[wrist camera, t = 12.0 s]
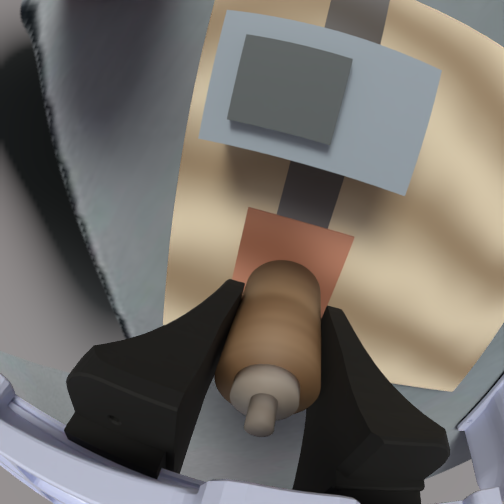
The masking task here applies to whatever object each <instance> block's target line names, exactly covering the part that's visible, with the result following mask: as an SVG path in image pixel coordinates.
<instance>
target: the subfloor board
mask: <svg viewBox="0 0 504 504" xmlns="http://www.w3.org/2000/svg"><path fill="white" fill-rule="evenodd" d="M227 10H234V11H242V12H249V13H256V14H262V15H268V16H274V17H280V18H285V19H290V20H295V21H299V22H304V23H308V24H312V25H316V26H320V27H324V28H328V29H332V30H335V31H339V32H342V33H346V34H349V35H352V36H356V37H359V38H362V39H365V40H368V41H371V42H374V43H377V44H379V45H382V46H385V47H388V48H390V49H393V50H396V51H398V52H401V53H403V54H406V55H408V56H411V57H413V58H415V59H418V60H420V61H422V62H425V63H427V64H429V65H431V66H433V67H436V68H438V69H440V70H442V72H441V76H440V81H439V85H438V89H437V93H436V97H435V101H434V105H433V108H432V112H431V116H430V119H429V123H428V126H427V130H426V133H425V137H424V140H423V143H422V146H421V150H420V153H419V156H418V159H417V162H416V165H415V168H414V171H413V174H412V177H411V180H410V183H409V186H408V189H407V191H406V194H405V196H402V195H400V194H397V193H394V192H391V191H388V190H386V189H383V188H380V187H377V186H374V185H371V184H368V183H365V182H362V181H359V180H356V179H352V178H349V177H346V176H343V175H340V174H336V173H333V172H330V171H326V170H323V169H320V168H316V167H313V166H309V165H306V164H302V163H299V162H295V161H291V160H288V159H284V158H280V157H276V156H272V155H268V154H264V153H260V152H256V151H252V150H248V149H244V148H240V147H235V146H231V145H226V144H222V143H217V142H213V141H208V140H203V139H198V137H199V132H200V127H201V122H202V116H203V111H204V106H205V101H206V97H207V92H208V87H209V83H210V78H211V73H212V69H213V65H214V60H215V56H216V52H217V47H218V43H219V39H220V35H221V31H222V27H223V23H224V19H225V15H226V12H227ZM275 260H288V261H293V262H296V263H299V264H301V265H303V266H304V267H306V268H307V269H309V270H310V271H311V272H312V273H313V274H314V276H315V277H316V279H317V281H318V283H319V286H320V292H321V318H322V316H323V314H324V311H325V309H326V307H327V305H328V306H331V307H335V308H339V309H342V310H343V312H344V314H345V315H346V317H347V319H348V321H349V322H350V324H351V326H352V328H353V330H354V331H355V333H356V335H357V336H358V338H359V340H360V341H361V343H362V345H363V346H364V348H365V349H366V351H367V353H368V354H369V356H370V357H371V358H372V360H373V361H374V363H375V364H376V366H377V367H378V368H379V369H380V371H381V372H382V373H383V374H384V376H385V377H386V378H387V379H388V380H389V382H390V383H395V384H401V385H407V386H414V387H421V388H428V389H435V390H443V391H451V392H453V391H454V389H455V388H456V387H457V386H458V385H459V383H460V382H461V381H462V380H463V378H464V377H465V376H466V375H467V373H468V372H469V371H470V370H471V368H472V367H473V366H474V364H475V363H476V362H477V360H478V359H479V358H480V356H481V355H482V353H483V352H484V351H485V349H486V348H487V346H488V345H489V344H490V342H491V341H492V339H493V338H494V336H495V335H496V333H497V332H498V330H499V329H500V327H501V326H502V324H503V323H504V47H502V46H501V45H499V44H498V43H496V42H494V41H493V40H491V39H490V38H488V37H486V36H485V35H483V34H481V33H479V32H478V31H476V30H474V29H473V28H471V27H469V26H467V25H465V24H463V23H462V22H460V21H458V20H456V19H454V18H452V17H450V16H448V15H446V14H444V13H442V12H440V11H438V10H436V9H433V8H431V7H429V6H427V5H425V4H422V3H420V2H418V1H415V0H215V2H214V6H213V10H212V13H211V17H210V21H209V25H208V29H207V33H206V37H205V41H204V46H203V50H202V54H201V59H200V63H199V68H198V72H197V77H196V81H195V86H194V91H193V96H192V101H191V106H190V112H189V117H188V122H187V128H186V133H185V139H184V145H183V151H182V157H181V164H180V170H179V177H178V184H177V191H176V198H175V205H174V213H173V221H172V229H171V238H170V247H169V257H168V267H167V278H166V289H165V302H164V316H163V325H166V324H168V323H170V322H172V321H174V320H176V319H177V318H179V317H181V316H182V315H184V314H186V313H187V312H189V311H190V310H192V309H193V308H194V307H196V306H197V305H199V304H200V303H202V302H203V301H204V300H205V299H207V298H208V297H209V296H210V295H212V294H213V293H214V292H215V291H216V290H217V289H218V288H219V287H220V286H221V285H222V284H223V283H224V282H225V281H226V280H228V279H232V280H236V281H239V282H243V283H245V286H246V283H247V280H248V278H249V276H250V275H251V273H252V272H253V271H254V270H255V269H256V268H258V267H259V266H261V265H262V264H264V263H267V262H270V261H275ZM245 286H244V289H245ZM243 291H244V290H243Z"/></svg>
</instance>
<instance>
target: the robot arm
mask: <svg viewBox="0 0 504 504" xmlns="http://www.w3.org/2000/svg"><path fill="white" fill-rule="evenodd" d="M244 286H245V283H243V282H239V281H236V280H232V279H228V280H226V281H225V282H224V283H223V284H222V285H221V286H220V287H219V288H218V289H217V290H216V291H215V292H214V293H213V294H212V295H210V296H209V297H208V298H207V299H205V300H204V301H203V302H202V303H200V304H199V305H197V306H196V307H194V308H193V309H192V310H190V311H189V312H187V313H186V314H184V315H182V316H181V317H179V318H177V319H176V320H174V321H172V322H170V323H168V324H166V325H164V326H162V327H159V328H157V329H155V330H153V331H150V332H148V333H145V334H142V335H139V336H136V337H133V338H129V339H125V340H121V341H117V342H111V343H107V344H101V345H95V346H93V347H92V348H91V349H90V350H89V351H88V352H87V353H86V354H85V355H84V356H83V357H82V358H81V360H80V361H79V362H78V363H77V365H76V366H75V368H74V369H73V370H72V371H71V373H70V374H69V375H68V377H67V380H66V383H67V389H68V392H69V395H70V398H71V401H72V404H73V407H74V410H75V413H74V415H73V416H72V418H71V419H70V421H69V422H68V424H67V425H65V424H63V423H61V422H60V421H58V420H56V419H54V418H53V417H51V416H49V415H48V414H46V413H44V412H43V411H41V410H39V409H38V408H36V407H34V406H33V405H31V404H30V403H28V402H27V401H25V400H24V399H22V398H21V397H19V396H18V395H16V394H15V391H14V389H13V386H12V385H11V383H10V382H9V381H8V379H7V378H6V377H4V376H3V375H2V374H1V373H0V466H2V467H3V468H4V469H5V470H7V471H8V472H9V473H11V474H12V475H13V476H15V477H16V478H18V479H19V480H20V481H22V482H23V483H24V484H26V485H27V486H29V487H30V488H31V489H33V490H34V491H35V492H37V493H38V494H40V495H41V496H43V497H44V498H46V499H47V500H49V501H51V502H52V503H54V504H421V498H420V491H422V490H423V489H424V487H425V486H424V479H425V478H426V477H428V476H429V475H430V474H432V473H433V472H434V471H436V470H437V469H438V468H440V467H441V466H442V465H443V464H444V463H445V462H446V460H447V459H448V457H449V455H450V447H449V443H448V439H447V434H446V431H445V429H444V428H443V427H441V426H440V425H438V424H437V423H435V422H434V421H433V420H431V419H430V418H428V417H427V416H426V415H424V414H423V413H422V412H421V411H419V410H418V409H417V408H416V407H415V406H413V405H412V404H411V403H410V402H409V401H408V400H407V399H406V398H405V397H404V396H403V395H402V394H401V393H400V392H399V391H398V390H397V389H396V388H395V387H394V386H393V385H392V384H391V383H390V382H389V380H388V379H387V378H386V377H385V376H384V374H383V373H382V372H381V371H380V369H379V368H378V367H377V366H376V364H375V363H374V361H373V360H372V358H371V357H370V356H369V354H368V353H367V351H366V349H365V348H364V346H363V345H362V343H361V341H360V340H359V338H358V336H357V335H356V333H355V331H354V330H353V328H352V326H351V324H350V322H349V321H348V319H347V317H346V315H345V314H344V312H343V310H342V309H339V308H335V307H331V306H328V305H327V307H326V309H325V311H324V314H323V316H322V318H321V389H320V393H319V396H318V398H317V399H316V401H315V402H314V403H313V404H312V405H311V406H309V407H308V408H306V422H305V429H304V436H303V442H302V447H301V453H300V458H299V463H298V468H297V472H296V477H295V481H294V485H293V489H292V490H291V489H284V488H278V487H273V486H267V485H262V484H257V483H252V482H247V481H240V480H233V479H213V480H210V481H207V482H204V481H201V480H197V479H194V478H191V477H187V476H184V475H181V474H180V471H181V468H182V465H183V462H184V458H185V455H186V452H187V449H188V446H189V443H190V440H191V437H192V434H193V431H194V428H195V425H196V422H197V419H198V416H199V413H200V410H201V407H202V404H203V401H204V398H205V395H206V393H207V390H208V388H209V386H210V384H211V381H212V379H213V377H214V375H215V371H216V368H217V365H218V362H219V360H220V357H221V354H222V351H223V348H224V345H225V343H226V340H227V337H228V334H229V331H230V328H231V326H232V323H233V320H234V318H235V315H236V312H237V310H238V307H239V304H240V301H241V298H242V294H243V290H244ZM457 428H458V430H459V431H465V435H466V439H467V442H468V446H469V450H470V454H471V458H472V463H473V467H474V472H475V476H476V480H477V484H478V486H479V488H480V490H479V491H476V492H474V493H472V494H470V495H469V496H468V497H466V498H465V499H464V500H461V501H453V502H445V503H436V504H502V502H503V501H504V374H503V376H502V377H501V378H500V379H499V381H498V382H497V383H496V384H495V385H494V387H493V388H492V389H491V390H490V391H489V392H488V394H487V395H486V396H485V397H484V398H483V399H482V400H481V402H480V403H479V404H478V405H477V406H476V407H475V408H474V409H473V410H472V411H471V412H470V413H469V414H468V415H467V417H466V418H465V419H464V420H463V421H462V422H461V423H460V424H459V425H458V426H457Z"/></svg>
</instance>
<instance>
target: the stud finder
mask: <svg viewBox="0 0 504 504" xmlns="http://www.w3.org/2000/svg"><path fill="white" fill-rule="evenodd" d="M441 72H442V70H440V69H438V68H436V67H433V66H431V65H429V64H427V63H425V62H422V61H420V60H418V59H415V58H413V57H411V56H408V55H406V54H403V53H401V52H398V51H396V50H393V49H390V48H388V47H385V46H382V45H379V44H377V43H374V42H371V41H368V40H365V39H362V38H359V37H356V36H352V35H349V34H346V33H342V32H339V31H335V30H332V29H328V28H324V27H320V26H316V25H312V24H308V23H304V22H299V21H295V20H290V19H285V18H280V17H274V16H268V15H262V14H256V13H249V12H242V11H234V10H227V12H226V15H225V19H224V23H223V27H222V31H221V35H220V39H219V43H218V47H217V52H216V56H215V60H214V65H213V69H212V73H211V78H210V83H209V87H208V92H207V97H206V101H205V106H204V111H203V116H202V122H201V127H200V132H199V137H198V139H203V140H208V141H213V142H217V143H222V144H226V145H231V146H235V147H240V148H244V149H248V150H252V151H256V152H260V153H264V154H268V155H272V156H276V157H280V158H284V159H288V160H291V161H295V162H299V163H302V164H306V165H309V166H313V167H316V168H320V169H323V170H326V171H330V172H333V173H336V174H340V175H343V176H346V177H349V178H352V179H356V180H359V181H362V182H365V183H368V184H371V185H374V186H377V187H380V188H383V189H386V190H388V191H391V192H394V193H397V194H400V195H402V196H405V194H406V191H407V189H408V186H409V183H410V180H411V177H412V174H413V171H414V168H415V165H416V162H417V159H418V156H419V153H420V150H421V146H422V143H423V140H424V137H425V133H426V130H427V126H428V123H429V119H430V116H431V112H432V108H433V105H434V101H435V97H436V93H437V89H438V85H439V81H440V76H441Z"/></svg>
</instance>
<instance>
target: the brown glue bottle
mask: <svg viewBox="0 0 504 504" xmlns="http://www.w3.org/2000/svg"><path fill="white" fill-rule="evenodd" d="M215 383H216V387H217V389H218V391H219V392H220V393H221V395H222V396H223V397H224V398H225V399H226V400H227V401H228V402H230V403H231V404H232V405H233V406H234V407H235V408H236V409H237V410H238V411H239V412H241V413H242V414H244V415H246V420H245V424H244V430H245V431H246V432H247V433H249V434H251V435H253V436H257V437H266V436H270V435H271V434H273V432H274V426H275V421H276V420H281V419H285V418H287V417H289V416H291V415H292V414H295V413H298V412H301V411H303V410H305V409H306V408H308V407H309V406H311V405H312V404H313V403H314V402H315V401H316V399H317V398H318V396H319V393H320V389H321V292H320V286H319V283H318V281H317V279H316V277H315V276H314V274H313V273H312V272H311V271H310V270H309V269H307V268H306V267H304V266H303V265H301V264H299V263H296V262H293V261H288V260H275V261H270V262H267V263H264V264H262V265H261V266H259V267H258V268H256V269H255V270H254V271H253V272H252V273H251V275H250V276H249V278H248V280H247V283H246V286H245V289H244V291H243V294H242V298H241V301H240V304H239V307H238V310H237V312H236V315H235V318H234V320H233V323H232V326H231V328H230V331H229V334H228V337H227V340H226V343H225V345H224V348H223V351H222V354H221V357H220V360H219V362H218V365H217V368H216V371H215Z"/></svg>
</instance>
